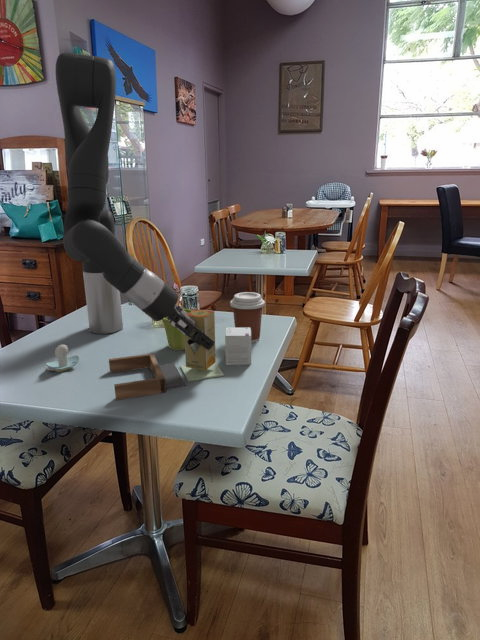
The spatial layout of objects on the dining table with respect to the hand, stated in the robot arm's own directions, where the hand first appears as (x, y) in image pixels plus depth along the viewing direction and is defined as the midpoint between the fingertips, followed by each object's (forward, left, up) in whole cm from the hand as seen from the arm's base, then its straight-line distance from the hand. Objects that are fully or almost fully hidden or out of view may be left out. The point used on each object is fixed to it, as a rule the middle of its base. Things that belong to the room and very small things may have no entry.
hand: (206, 340), depth 107 cm
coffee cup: (-17, +16, -8) cm, 24 cm away
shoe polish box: (0, -2, -6) cm, 6 cm away
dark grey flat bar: (0, -8, -7) cm, 11 cm away
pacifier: (-14, -31, -8) cm, 35 cm away
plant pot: (-18, -2, -8) cm, 19 cm away
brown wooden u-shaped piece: (0, -16, -7) cm, 18 cm away
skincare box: (-4, +9, -8) cm, 12 cm away
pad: (0, -1, -7) cm, 7 cm away
